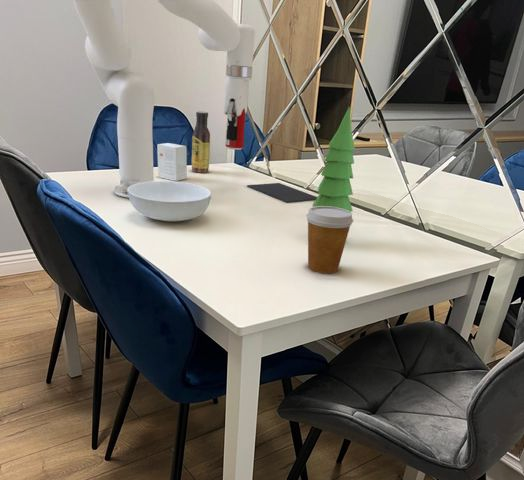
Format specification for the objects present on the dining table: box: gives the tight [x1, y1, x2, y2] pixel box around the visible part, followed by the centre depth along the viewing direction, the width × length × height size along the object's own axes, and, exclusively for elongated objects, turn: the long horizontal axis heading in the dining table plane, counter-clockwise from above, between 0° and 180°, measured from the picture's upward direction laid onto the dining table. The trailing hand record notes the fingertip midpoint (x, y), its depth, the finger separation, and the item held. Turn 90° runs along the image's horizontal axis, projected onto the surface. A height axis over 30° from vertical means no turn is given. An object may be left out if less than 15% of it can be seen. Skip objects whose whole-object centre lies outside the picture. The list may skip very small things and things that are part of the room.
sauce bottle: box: [191, 110, 211, 174], centre depth 187 cm, size 7×6×20 cm
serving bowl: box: [128, 180, 212, 223], centre depth 136 cm, size 21×21×7 cm
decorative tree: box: [312, 106, 356, 213], centre depth 123 cm, size 10×9×30 cm
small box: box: [156, 142, 188, 182], centre depth 176 cm, size 8×6×10 cm
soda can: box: [225, 108, 246, 151], centre depth 163 cm, size 6×6×12 cm
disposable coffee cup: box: [305, 206, 354, 274], centre depth 110 cm, size 10×10×12 cm
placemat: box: [247, 182, 318, 204], centre depth 172 cm, size 22×13×1 cm, turn 34°
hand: (234, 138), depth 164 cm, fingers closed on soda can, 5 cm apart
